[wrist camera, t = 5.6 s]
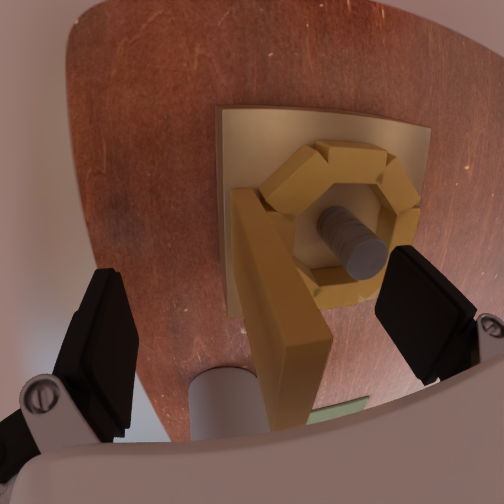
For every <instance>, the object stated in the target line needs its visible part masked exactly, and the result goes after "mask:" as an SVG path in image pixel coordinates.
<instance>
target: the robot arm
mask: <svg viewBox="0 0 504 504" xmlns="http://www.w3.org/2000/svg"><path fill="white" fill-rule="evenodd" d="M476 312H477V308H476V307H475V306H474V305H473V304H472V303H471V302H470V301H469V300H468V299H467V298H466V297H465V296H464V295H463V294H462V293H461V292H460V291H459V290H458V289H457V288H456V287H455V286H454V285H453V284H452V283H451V282H450V281H449V280H448V279H447V278H446V277H445V276H444V275H443V274H442V273H441V272H440V271H439V270H438V269H436V268H435V267H434V266H433V265H432V264H431V263H430V262H429V261H428V260H427V259H426V258H425V257H424V256H422V255H421V254H420V253H419V252H418V251H417V250H416V249H415V248H414V247H412V246H411V245H400V246H396V247H395V248H394V250H392V251H391V253H390V257H389V260H388V264H387V268H386V271H385V275H384V278H383V282H382V285H381V289H380V292H379V295H378V298H377V302H376V305H375V315H376V317H377V318H378V320H379V321H380V323H381V324H382V326H383V327H384V329H385V330H386V331H387V333H388V334H389V336H390V337H391V339H392V340H393V342H394V343H395V345H396V346H397V348H398V349H399V351H400V353H401V354H402V356H403V357H404V359H405V360H406V362H407V363H408V365H409V366H410V368H411V370H412V371H413V373H414V374H415V376H416V377H417V378H418V379H420V380H421V381H422V383H423V384H424V386H426V385H429V384H431V383H433V382H435V381H436V380H437V378H438V377H439V379H440V382H439V383H437V384H435V385H432V386H430V387H427V388H425V389H422V390H420V391H417V392H415V393H412V394H410V395H407V396H404V397H402V398H399V399H396V400H393V401H390V402H388V403H385V404H382V405H379V406H376V407H372V408H369V409H366V410H363V411H359V412H356V413H353V414H349V415H345V416H342V417H338V418H334V419H330V420H326V421H322V422H318V423H314V424H309V425H305V426H300V427H295V428H290V429H285V430H279V431H274V432H268V433H261V434H255V435H248V436H240V437H231V438H222V439H210V440H197V441H182V442H146V443H145V442H143V443H142V442H140V443H139V442H137V443H113V439H114V437H121V438H124V437H125V429H129V428H130V423H131V411H132V399H133V389H134V379H135V370H136V362H137V354H138V347H139V336H138V332H137V329H136V326H135V323H134V319H133V316H132V313H131V309H130V306H129V302H128V299H127V295H126V292H125V288H124V284H123V281H122V277H121V274H120V272H115V270H114V269H113V268H105V269H96V270H95V272H94V274H93V277H92V279H91V281H90V284H89V286H88V288H87V290H86V293H85V295H84V297H83V300H82V302H81V304H80V307H79V309H78V311H76V312H75V313H74V315H73V317H72V320H71V322H70V325H69V327H68V330H67V333H66V335H65V338H64V341H63V343H62V346H61V349H60V352H59V355H58V358H57V360H56V363H55V366H54V370H53V373H52V375H51V374H40V375H37V376H35V377H32V378H31V379H30V380H29V381H27V382H26V384H25V385H24V386H23V388H22V390H21V392H20V397H19V403H20V409H18V410H17V411H15V412H14V413H13V414H11V415H10V416H8V417H7V418H5V419H4V420H3V421H1V422H0V504H504V322H503V321H502V320H501V319H500V318H498V317H497V316H495V315H492V314H489V313H482V314H480V315H479V316H478V318H477V320H476V321H475V320H474V319H473V318H474V316H475V314H476Z"/></svg>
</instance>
